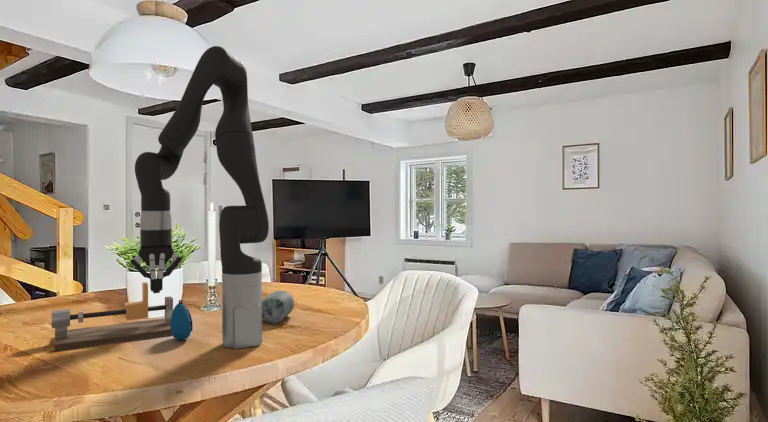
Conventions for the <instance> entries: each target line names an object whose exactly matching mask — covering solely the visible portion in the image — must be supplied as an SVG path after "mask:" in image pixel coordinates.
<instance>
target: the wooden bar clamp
mask: <svg viewBox="0 0 768 422" xmlns="http://www.w3.org/2000/svg"><path fill="white" fill-rule="evenodd" d="M173 310H174V298H173V296H170V295H169V296H164V304H163V305H162V304H160V305H154V306H153V305H151V306H148V312H155V311H164V318H158V319H157V318H156V319H148V320H140V321H133V322H124V323H123V322H122V323H117V324H116V323H115V324H106V325H97V326H90V327H82V328H72V329H68V327H71V320H78V324H81V323H84V319H90V318H91V319H92V318H99V317H111V316H116V315H117V316H119V315H125V314H126V309H125V308H122V309H115V310H105V311H97V312H85V313H84V309H78V311H77V312H78V313H76V314H71V308H65V309H54V310H52V311H51V329H54V339H55V342H54V352H59V351H65V350H74V349H80V348H87V347H96V346H102V345H109V344H116V343H125V342H131V341H138V340H139V341H140V340H145V339H152V338H153V339H154V338H161V337H168V336H169V337H170V336H173V335H172V333H171V330H170V321H171V316H172V312H173Z"/></svg>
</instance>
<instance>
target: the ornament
mask: <svg viewBox="0 0 768 422" xmlns="http://www.w3.org/2000/svg"><path fill="white" fill-rule="evenodd" d="M193 329H194V328H193V319H192V315H191V313H190V310H189V309H188V308H187V307H186V305H185V304H184V303H183V300H182V299H179V300H178V303H177V304H176V305H175V306H174V307H173V312H172V316H171V321H170V330H171V333H172V335H171V336H172V337H173V339H175V340H176V341H184V340H187V339H188V338H189V337H190V336H191V332H193Z"/></svg>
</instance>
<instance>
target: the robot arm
mask: <svg viewBox="0 0 768 422" xmlns="http://www.w3.org/2000/svg"><path fill="white" fill-rule="evenodd" d="M246 68H247V67H246V66H245V64H244V63H243V62H242V60H241V59H239V58H238V57H236V56H235V55H234V54H232V53H231V51H228V50H227V49H225V48H223V47H222V46H219V45H214V46H210V47H209V48H207V49H206V50H205V51H204V52H203V53H202V55H201V56H200V58H199V60H198V62H197V63H196V65H195V68H194V70H193V72H192V74H191V77H190V79H189V81H188V83H187V86H186V88H185V91H184V92H183V94H182V97H181V99H180V101H179V103H178V105H177V107H176V109H175V111H174V112H173V114H172V115H171V116H170V118H169V120H168V121H167V123H166V124H165V126H164V127H163V129H162V130H161V132H160V133H159V135H158V138H157V141H158V143H159V144H160V145H161V146H160V149H159V151H158V152H152V151H144V152H142V153H141V154H139V155H138V156H137V158H136V160H135V164H134V174H135V178H136V183H137V187H138V189H139V190H138V191H139V192H140V197H141V198H140V205H141V206H140V211H141V212H140V221H139V230H140V231H139V232H140V233H139V234H140V235H139V236H140V241H139V242H140V243H139V244H140V247H139V248H140V249H139V251H138V252H137V253H138V254H137V255H136V256H135V257H133V258H130V260H129V262H130V264H131V265H132V266H133V267H134V269H136V270H137V271H138V272H139V273H140V275H142V277H144V278H147V279H149V285H150V286H149V288H150V292H152V294H159V293H161V291H163V287H164V286H163V285H164V284H163V282H164V281H163V279H164V278H165V277H169V276H171V274H172V273H173V272H174V271H175V269H176V268H177V267H178V266H179V264H180V263H181V261H182V260H183V258H182V257H181V256H179V255H177V254H176V253H175V251H174V249H173V246H172V245H173V244H172V243H173V242H172V238H173V237H172V234H173V233H172V230H173V229H172V227H173V226H172V225H173V224H172V215H171V193H170V191H169V190H167V189H166V188H164V186H163V182H162V181H166V180H168V179H170V178H171V177H172V176H173V175H174V174H175V173H176V172H177V170H178V168H179V165H180V162H181V160H182V157H183V154H184V151H185V150H186V148H187V147H188V145H189V143H190V142H191V141H192V139H193V137H194V136H195V135H196V133H197V131H198V130H199V126H200V124H201V123H200V122H201V116H202V108H203V103H204V100H205V97H206V96H207V95H206V94H207V93H208V91H209V90H210V89H211V87H212V86H213V85H214V86H216V87H218V88H219V90H220V93H221V98H222V104H223V105H222V106H223V110H222V113H221V114H222V115H221V116H220V118H219V121H218V122H217V125H216V128H215V134H214V137H215V139H214V140H215V146H216V153H217V154H216V155H217V158H218V159H217V160H218V161H219V163H220V165H221V166H222V167H223V169H224V170H225V172H226V173H227V174H228V175H229V176H230V177H231V179H232V180H233V181H234V183H236V185H237V186H238V188H239V191H240V192H241V194H242V197H243V199H244V204H245V205H227V206H225V207H223V208H222V209H221V212H220V213H219V219H218V221H219V222H218V232H219V248H220V251H219V253H220V263H221V300H222V301H221V319H222V321H221V323H222V325H221V326H222V327H221V328H222V329H221V330H222V332H221V333H222V334H221V336H222V338H221V339H222V342H221V343H222V346H223V347H226V348H231V349H234V350H237V349H246V348H251V347H256V346H257V347H258V346H261V344H262V342H263V319H262V300H263V297H262V296H263V290H262V289H263V286H262V285H263V282H262V281H263V274H262V270H263V269H262V268H263V267H262V266H263V263H262V260H261V259H260V258H257V257H254V256H250V255H248V254H246V253H245V252H243V251H242V248H241V244H242V245H243V244H245V245H246V244H259V243H263V242H265V241H266V240H267V238H268V236H269V230H270V223H269V214H268V211H267V207H266V203H265V198H264V194H263V190H262V185H261V182H260V177H259V170H258V163H257V157H256V156H257V155H256V148H255V142H254V141H255V140H254V133H253V128H252V124H251V123H252V122H251V115H250V108H249V97H248V95H249V94H248V92H249V89H248V72H247V69H246ZM170 259H171V260H170ZM141 260H142V261H143V263H145V264H146V266H148V269H149V271H148V272H147V271H146V270H145V269H144V268H143V267H142V266H141V263H142V261H141ZM169 261H171V263H170V265H168V267H167V268H166V269H165V265H166V264H167V263H168V262H169ZM156 267H157V268H156ZM156 269H157V271H156ZM164 269H165V270H164Z"/></svg>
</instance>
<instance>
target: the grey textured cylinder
mask: <svg viewBox="0 0 768 422" xmlns="http://www.w3.org/2000/svg"><path fill="white" fill-rule="evenodd" d="M294 307H295V301H294V298H293V296H292V295H291V294H290V293H289V292H287V291H285V290H276V291H273V292H271V293H269V294H268V295H266V296H265V297H264V298H262V320H264V321H265V322H266V323H268V324H271V325H272V324H273V325H276V324H279V323H280V322H282V321H283V320H284V318H286V317H287V316H289V315H290V314H291V313H292V311H293V310H294Z"/></svg>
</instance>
